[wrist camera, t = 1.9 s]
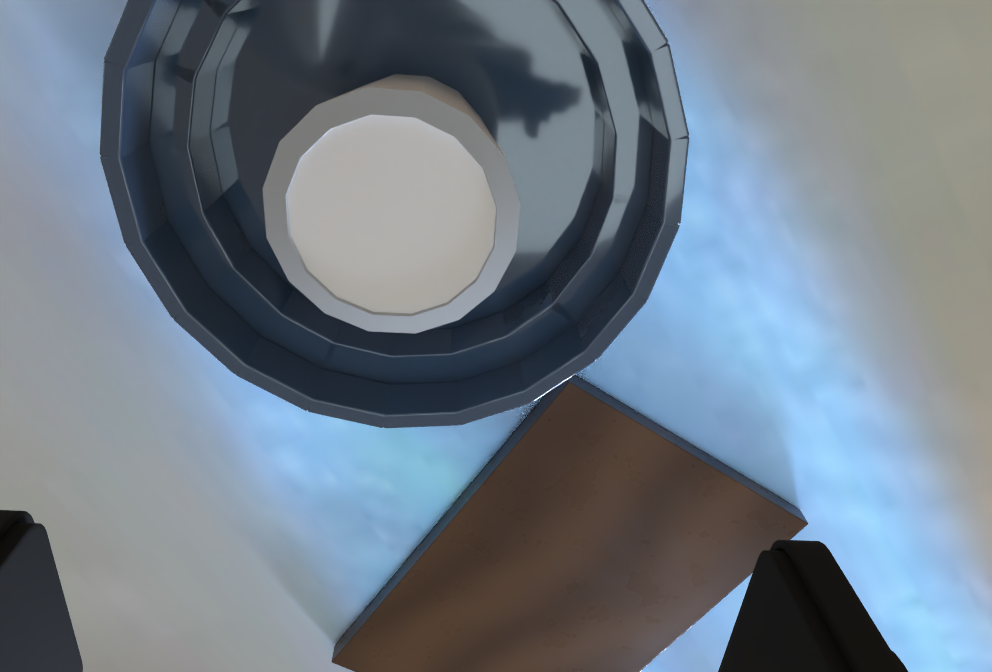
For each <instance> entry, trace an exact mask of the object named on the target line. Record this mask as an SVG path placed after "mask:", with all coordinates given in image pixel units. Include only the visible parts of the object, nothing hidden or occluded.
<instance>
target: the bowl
mask: <svg viewBox="0 0 992 672" xmlns="http://www.w3.org/2000/svg"><path fill="white" fill-rule="evenodd" d="M104 59H105V61H104V72H103V95H102V118H101V141H100V155H101V157H100V158H101V162H102V166H103V169H104V173H105V176H106V180H107V183H108V187H109V190H110V194H111V197H112V201H113V204H114V208H115V211H116V215H117V218H118V222H119V225H120V229H121V232H122V236H123V239H124V243H125V244H126V247H127V248H128V250H129V251H130V253H131V255H132V256H133V258H134V259H135V261H136V262H137V264H138V266H139V267H140V269H141V270H142V272H143V273H144V275H145V276H146V278H147V280H148V281H149V283H150V284H151V286H152V287H153V289H154V291H155V292H156V294H157V295H158V297H159V298H160V300H161V301H162V303H163V305H164V306H165V308H166V309H167V311H168V312H169V314H170V316H171V317H172V318H174V320H175V321H176V322H177V323H178V324H179V325H180V326H181V327H182V328H183V329H185V330H186V331H187V332H188V333H189V334H190V335H191V336H192V337H194V338H195V339H196V340H197V341H198V342H199V343H200V344H201V345H202V346H204V347H205V348H206V349H207V350H208V351H209V352H210V353H211V354H213V355H214V356H215V357H216V358H217V359H218V360H219V361H220V362H221V363H223V364H224V365H225V366H226V367H227V368H228V369H229V370H230V371H232V372H233V373H234V374H236V375H237V376H238V377H240V378H242V379H244V380H246V381H248V382H250V383H252V384H254V385H256V386H258V387H260V388H262V389H264V390H266V391H268V392H270V393H272V394H274V395H276V396H278V397H280V398H282V399H284V400H286V401H288V402H290V403H292V404H294V405H296V406H298V407H299V408H301V409H303V410H305V411H307V410H308V411H309V412H312V413H316V414H321V415H326V416H330V417H335V418H339V419H344V420H348V421H353V422H357V423H362V424H367V425H371V426H376V427H380V428H383V427H384V428H402V427H427V426H451V425H459V424H460V425H462V424H466V423H469V422H472V421H475V420H478V419H482V418H485V417H488V416H491V415H494V414H498V413H501V412H504V411H507V410H510V409H514V408H517V407H520V406H523V405H526V404H529V403H531V402H533V401H535V400H537V399H538V398H540V397H541V396H543V395H544V394H546V393H547V392H549V391H550V390H552V389H554V388H555V387H557V386H558V385H560V384H561V383H563V382H564V381H566V380H567V379H569V378H570V377H572V376H573V375H575V374H577V373H578V372H580V371H581V370H583V369H584V368H586V367H587V366H589V365H590V364H592V363H593V362H595V360H597V359H598V358H599V357H600V356H601V354H602V353H603V352H604V351H605V350H606V349H607V347H608V346H609V345H610V344H611V343H612V342H613V340H614V339H615V338H616V337H617V336H618V335H619V333H620V332H621V331H622V330H623V329H624V328H625V326H626V325H627V324H628V323H629V322H630V321H631V319H632V318H633V317H634V316H635V315H636V314H637V312H638V311H639V310H640V309H641V308H642V307H643V305H644V304H645V303H646V300H648V298H649V296H650V293H651V291H652V289H653V286H654V284H655V282H656V280H657V277H658V275H659V273H660V270H661V268H662V266H663V263H664V261H665V259H666V257H667V254H668V252H669V250H670V247H671V245H672V243H673V240H674V238H675V236H676V233H677V231H678V229H679V224H680V223H681V214H682V204H683V194H684V184H685V174H686V164H687V155H688V145H689V137H688V136H689V132H688V128H687V123H686V118H685V114H684V109H683V105H682V100H681V96H680V91H679V86H678V82H677V77H676V73H675V68H674V64H673V59H672V54H671V50H670V45H669V44H668V40H667V39H666V37H665V35H664V34H663V32H662V30H661V29H660V27H659V25H658V23H657V22H656V20H655V18H654V17H653V15H652V13H651V12H650V10H649V8H648V7H647V5H646V3H645V2H644V0H128V2H127V5H126V7H125V9H124V12H123V14H122V17H121V19H120V21H119V24H118V26H117V29H116V31H115V33H114V36H113V38H112V41H111V43H110V46H109V48H108V50H107V53H106V55H105V58H104ZM394 74H404V75H418V76H429V77H431V78H433V79H435V80H437V81H439V82H441V83H443V84H445V85H447V86H449V87H451V88H453V89H454V90H456V91H458V92H459V93H460V94H461V95H462V96H463V98H464V99H465V100H466V101H467V102H468V103H469V105H470V106H471V107H472V108H473V109H474V110H475V112H476V113H477V114H478V115H479V116H480V118H481V119H482V121H483V122H484V124H485V126H486V127H487V129H488V130H489V132H490V134H491V135H492V137H493V138H494V140H495V142H496V143H497V145H498V146H499V148H500V150H501V151H502V153H503V154H504V156H505V159H506V162H507V165H508V168H509V171H510V174H511V177H512V180H513V183H514V186H515V189H516V192H517V195H518V198H519V201H520V214H519V225H518V236H517V247H516V252H515V254H514V256H513V258H512V260H511V262H510V263H509V265H508V267H507V269H506V271H505V273H504V274H503V276H502V278H501V280H500V282H499V284H498V286H497V287H496V289H495V291H494V292H493V293H492V294H491V295H489V296H488V297H487V298H486V299H484V300H483V301H482V302H481V303H479V304H478V305H477V306H476V307H474V308H473V309H472V310H471V311H469V312H468V313H467V314H466V315H464V316H463V317H462V318H461V319H460V320H457V321H454V322H451V323H447V324H444V325H441V326H438V327H435V328H432V329H428V330H425V331H422V332H419V333H416V334H414V333H393V332H371V331H367V330H364V329H362V328H359V327H357V326H354V325H352V324H350V323H347V322H345V321H342V320H340V319H337V318H335V317H332V316H330V315H328V314H325V313H324V312H323V311H322V310H320V309H319V308H318V307H317V306H316V305H315V304H314V303H313V302H312V301H310V300H309V299H308V298H307V297H306V296H305V295H304V294H303V293H302V292H300V291H299V290H298V289H297V288H296V287H295V286H294V285H293V284H292V283H290V282H289V280H288V278H287V277H286V275H285V273H284V271H283V269H282V267H281V265H280V263H279V261H278V259H277V257H276V255H275V253H274V251H273V249H272V247H271V245H270V244H269V242H268V240H267V238H266V226H265V213H264V201H263V186H264V183H265V180H266V178H267V175H268V172H269V169H270V166H271V164H272V161H273V158H274V155H275V152H276V150H277V147H278V144H279V142H280V141H281V140H282V139H283V138H284V137H285V136H286V135H287V134H288V133H289V132H290V131H291V130H292V129H293V128H294V127H295V126H296V125H297V124H298V123H299V122H300V121H301V120H302V119H303V118H304V117H305V116H306V115H307V114H308V113H309V112H310V111H311V110H312V109H313V108H314V107H315V106H316V105H319V104H321V103H323V102H326V101H328V100H330V99H333V98H335V97H338V96H340V95H342V94H345V93H347V92H349V91H352V90H354V89H357V88H359V87H361V86H364V85H366V84H369V83H372V82H375V81H377V80H380V79H383V78H386V77H388V76H391V75H394Z"/></svg>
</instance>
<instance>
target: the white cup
mask: <svg viewBox="0 0 992 672" xmlns="http://www.w3.org/2000/svg"><path fill="white" fill-rule="evenodd" d="M263 201H264V213H265V226H266V238H267V240H268V242H269V244H270V245H271V247H272V249H273V251H274V253H275V255H276V257H277V259H278V261H279V263H280V265H281V267H282V269H283V271H284V273H285V275H286V277H287V278H288V280H289V282H290V283H292V284H293V285H294V286H295V287H296V288H297V289H298V290H299V291H300V292H302V293H303V294H304V295H305V296H306V297H307V298H308V299H309V300H310V301H312V302H313V303H314V304H315V305H316V306H317V307H318V308H319V309H320V310H322V311H323V312H324V313H325V314H328V315H330V316H332V317H335V318H337V319H340V320H342V321H345V322H347V323H350V324H352V325H354V326H357V327H359V328H362V329H364V330H367V331H371V332H393V333H414V334H416V333H419V332H422V331H425V330H428V329H432V328H435V327H438V326H441V325H444V324H447V323H451V322H454V321H457V320H460V319H461V318H462V317H463V316H464V315H466V314H467V313H468V312H469V311H471V310H472V309H473V308H474V307H476V306H477V305H478V304H479V303H481V302H482V301H483V300H484V299H486V298H487V297H488V296H489V295H491V294H492V293H493V292H494V291H495V289H496V287H497V286H498V284H499V282H500V280H501V278H502V276H503V274H504V273H505V271H506V269H507V267H508V265H509V263H510V262H511V260H512V258H513V256H514V254H515V252H516V247H517V236H518V225H519V214H520V201H519V198H518V195H517V192H516V189H515V186H514V183H513V180H512V177H511V174H510V171H509V168H508V165H507V162H506V159H505V156H504V154H503V153H502V151H501V150H500V148H499V146H498V145H497V143H496V142H495V140H494V138H493V137H492V135H491V134H490V132H489V130H488V129H487V127H486V126H485V124H484V122H483V121H482V119H481V118H480V116H479V115H478V114H477V113H476V112H475V110H474V109H473V108H472V107H471V106H470V105H469V103H468V102H467V101H466V100H465V99H464V98H463V96H462V95H461V94H460V93H459V92H458V91H456V90H454V89H453V88H451V87H449V86H447V85H445V84H443V83H441V82H439V81H437V80H435V79H433V78H431V77H429V76H418V75H404V74H394V75H391V76H388V77H386V78H383V79H380V80H377V81H375V82H372V83H369V84H366V85H364V86H361V87H359V88H357V89H354V90H352V91H349V92H347V93H345V94H342V95H340V96H338V97H335V98H333V99H330V100H328V101H326V102H323V103H321V104H319V105H316V106H315V107H314V108H313V109H312V110H311V111H310V112H309V113H308V114H307V115H306V116H305V117H304V118H303V119H302V120H301V121H300V122H299V123H298V124H297V125H296V126H295V127H294V128H293V129H292V130H291V131H290V132H289V133H288V134H287V135H286V136H285V137H284V138H283V139H282V140H281V141H280V142H279V144H278V147H277V150H276V152H275V155H274V158H273V161H272V164H271V166H270V169H269V172H268V175H267V178H266V180H265V183H264V186H263Z"/></svg>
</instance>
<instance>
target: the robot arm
mask: <svg viewBox="0 0 992 672" xmlns="http://www.w3.org/2000/svg"><path fill="white" fill-rule="evenodd" d="M0 672H83V665H82V660H81V656H80V652H79V649H78V645H77V641H76V638H75V634H74V630H73V627H72V623H71V619H70V616H69V612H68V608H67V605H66V601H65V598H64V594H63V590H62V587H61V583H60V579H59V576H58V572H57V568H56V565H55V561H54V557H53V554H52V550H51V546H50V543H49V539H48V535H47V532H46V529H45V527H44V526H43V525H42V524H38V523H34V520H33V518H32V516H31V515H30V514H29V513H28V512H26V511H9V510H0ZM718 672H908V671H907V669H906V667H905V666H904V664H903V663H902V662H901V660H900V659H899V658H898V657H897V655H896V654H895V653H894V652H893V651H891V650H890V648H889V647H888V645H887V643H886V642H885V640H884V638H883V637H882V635H881V634H880V632H879V630H878V629H877V627H876V625H875V624H874V622H873V621H872V619H871V617H870V616H869V614H868V612H867V611H866V609H865V608H864V606H863V604H862V603H861V601H860V599H859V598H858V596H857V595H856V593H855V591H854V590H853V588H852V586H851V585H850V583H849V582H848V580H847V578H846V577H845V575H844V573H843V572H842V570H841V569H840V567H839V565H838V564H837V562H836V560H835V559H834V557H833V556H832V554H831V552H830V551H829V549H828V548H827V547H826V546H825V544H823V543H821V542H820V541H797V540H777V541H775V542H774V543H773V544H772V546H771V548H770V550H763V551H762V552H761V553H760V555H759V557H758V559H757V562H756V565H755V568H754V571H753V574H752V577H751V579H750V582H749V585H748V588H747V591H746V594H745V597H744V599H743V602H742V605H741V608H740V611H739V614H738V617H737V620H736V622H735V625H734V628H733V631H732V634H731V637H730V640H729V642H728V645H727V648H726V651H725V654H724V657H723V660H722V662H721V665H720V668H719V671H718Z"/></svg>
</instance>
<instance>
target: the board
mask: <svg viewBox="0 0 992 672" xmlns="http://www.w3.org/2000/svg"><path fill="white" fill-rule="evenodd" d="M806 525H808V522H807V521H806V519H805V517H804V516H803V514H802V512H801V511H800V509H798V508H796V507H795V506H793V505H791V504H790V503H788V502H786V501H785V500H783V499H781V498H780V497H778V496H776V495H775V494H773V493H771V492H770V491H768V490H766V489H765V488H763V487H761V486H760V485H758V484H756V483H755V482H753V481H751V480H750V479H748V478H746V477H744V476H743V475H741V474H739V473H738V472H736V471H734V470H733V469H731V468H729V467H728V466H726V465H724V464H723V463H721V462H719V461H718V460H716V459H714V458H713V457H711V456H709V455H708V454H706V453H704V452H703V451H701V450H699V449H698V448H696V447H694V446H693V445H691V444H689V443H688V442H686V441H684V440H683V439H681V438H679V437H678V436H676V435H674V434H673V433H671V432H669V431H668V430H666V429H664V428H662V427H661V426H659V425H657V424H656V423H654V422H652V421H651V420H649V419H647V418H646V417H644V416H642V415H641V414H639V413H637V412H636V411H634V410H632V409H631V408H629V407H627V406H626V405H624V404H622V403H621V402H619V401H617V400H616V399H614V398H612V397H611V396H609V395H607V394H606V393H604V392H602V391H601V390H599V389H597V388H596V387H594V386H592V385H591V384H589V383H587V382H586V381H584V380H582V379H580V378H579V377H577V376H575V375H573V376H572V377H570V378H569V379H567V380H566V381H564V382H563V383H561V384H560V385H558V386H557V387H555V388H554V389H552V390H550V391H549V392H548V393H547V394H546V395H545V396H544V397H543V398H542V400H541V401H540V402H539V403H538V404H537V406H536V407H535V408H534V409H533V410H532V412H531V413H530V414H529V415H528V416H527V418H526V419H525V420H524V421H523V422H522V424H521V425H520V426H519V427H518V428H517V429H516V431H515V432H514V433H513V434H512V435H511V437H510V438H509V439H508V440H507V441H506V443H505V444H504V445H503V446H502V447H501V449H500V450H499V451H498V452H497V453H496V454H495V456H494V457H493V458H492V459H491V460H490V462H489V463H488V464H487V465H486V466H485V468H484V469H483V470H482V471H481V472H480V474H479V475H478V476H477V477H476V478H475V479H474V481H473V482H472V483H471V484H470V485H469V487H468V488H467V489H466V490H465V491H464V493H463V494H462V495H461V496H460V497H459V499H458V500H457V501H456V502H455V503H454V504H453V506H452V507H451V508H450V509H449V510H448V512H447V513H446V514H445V515H444V516H443V518H442V519H441V520H440V521H439V522H438V524H437V525H436V526H435V527H434V528H433V529H432V531H431V532H430V533H429V534H428V535H427V537H426V538H425V539H424V540H423V541H422V543H421V544H420V545H419V546H418V547H417V549H416V550H415V551H414V552H413V553H412V554H411V556H410V557H409V558H408V559H407V560H406V562H405V563H404V564H403V565H402V566H401V568H400V569H399V570H398V571H397V572H396V574H395V575H394V576H393V577H392V578H391V579H390V581H389V582H388V583H387V584H386V585H385V587H384V588H383V589H382V590H381V591H380V593H379V594H378V595H377V596H376V597H375V599H374V600H373V601H372V602H371V603H370V605H369V606H368V607H367V608H366V609H365V610H364V612H363V613H362V614H361V615H360V616H359V618H358V619H357V620H356V621H355V622H354V624H353V625H352V626H351V627H350V628H349V630H348V631H347V632H346V633H345V634H344V635H343V637H342V638H341V639H340V640H339V641H338V643H337V644H336V645H335V647H334V652H333V657H332V663H335V664H337V665H340V666H342V667H345V668H347V669H350V670H352V671H355V672H640V671H641V670H643V669H644V668H645V667H646V666H647V665H648V664H649V663H650V662H652V661H653V660H654V659H655V658H656V657H657V656H658V655H660V654H661V653H662V652H663V651H664V650H665V649H666V648H668V647H669V646H670V645H671V644H672V643H673V642H674V641H676V640H677V639H678V638H679V637H680V636H681V635H682V634H683V633H685V632H686V631H687V630H688V629H689V628H690V627H691V626H693V625H694V624H695V623H696V622H697V621H698V620H699V619H701V618H702V617H703V616H704V615H705V614H706V613H707V612H709V611H710V610H711V609H712V608H713V607H714V606H715V605H717V604H718V603H719V602H720V601H721V600H722V599H723V598H724V597H726V596H727V595H728V594H729V593H730V592H731V591H732V590H734V589H735V588H736V587H737V586H738V585H739V584H740V583H742V582H743V581H744V580H745V579H746V578H747V577H748V576H750V575H751V574H752V573H753V571H754V568H755V565H756V562H757V559H758V557H759V555H760V553H761V552H762V551H763V550H770V548H771V546H772V544H773V543H774V542H775V541H777V540H790V539H792V538H793V537H794V536H795V535H796V534H797V533H798V532H800V531H801V530H802V529H803V528H804V527H805V526H806Z"/></svg>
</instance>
